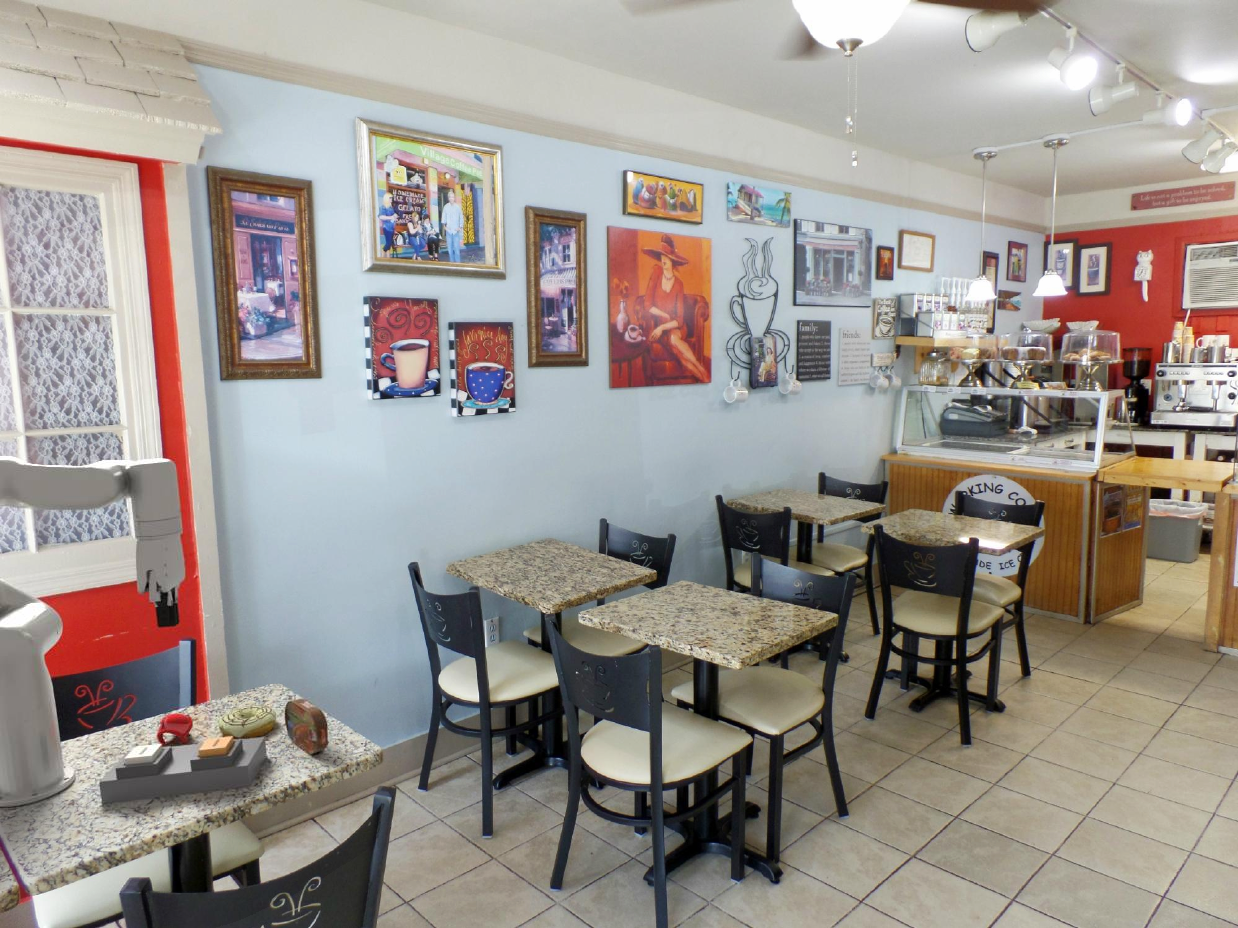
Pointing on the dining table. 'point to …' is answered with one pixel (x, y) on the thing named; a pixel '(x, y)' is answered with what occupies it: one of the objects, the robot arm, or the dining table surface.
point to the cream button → (143, 754)
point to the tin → (306, 726)
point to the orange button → (216, 746)
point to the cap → (175, 727)
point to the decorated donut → (247, 722)
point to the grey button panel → (184, 772)
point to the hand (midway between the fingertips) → (168, 625)
